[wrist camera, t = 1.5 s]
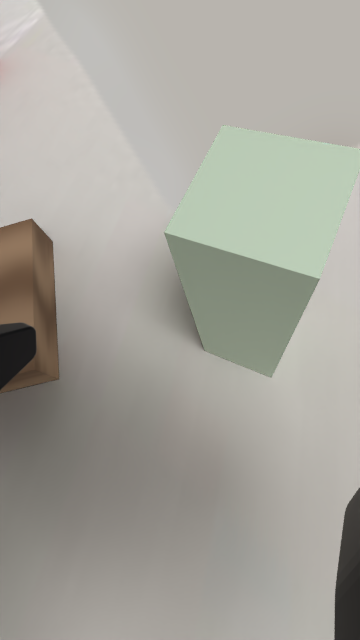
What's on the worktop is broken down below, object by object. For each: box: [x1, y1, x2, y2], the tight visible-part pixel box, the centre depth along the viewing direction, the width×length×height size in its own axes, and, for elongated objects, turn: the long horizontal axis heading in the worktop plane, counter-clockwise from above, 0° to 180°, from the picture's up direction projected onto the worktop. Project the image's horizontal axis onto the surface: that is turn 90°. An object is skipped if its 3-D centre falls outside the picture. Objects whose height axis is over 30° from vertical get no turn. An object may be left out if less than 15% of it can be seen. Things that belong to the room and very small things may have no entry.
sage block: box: [164, 125, 360, 377], centre depth 16 cm, size 5×5×13 cm
